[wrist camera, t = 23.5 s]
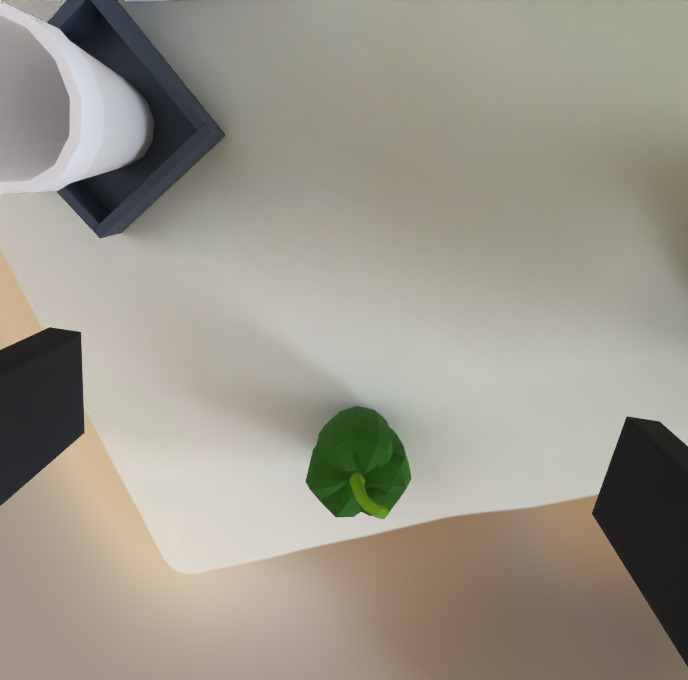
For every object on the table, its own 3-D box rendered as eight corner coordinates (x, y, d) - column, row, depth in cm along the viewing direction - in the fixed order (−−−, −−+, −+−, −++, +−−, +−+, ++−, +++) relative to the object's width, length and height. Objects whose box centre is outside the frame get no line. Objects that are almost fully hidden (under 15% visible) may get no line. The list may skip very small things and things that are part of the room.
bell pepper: (296, 423, 47) (278, 488, 37) (369, 377, 45) (369, 433, 35) (348, 486, 49) (343, 563, 39) (419, 445, 47) (432, 515, 37)
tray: (225, 135, 39) (212, 132, 35) (121, 233, 42) (99, 238, 38) (112, -6, 36) (86, -23, 33) (9, 109, 39) (-25, 104, 36)
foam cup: (199, 131, 38) (118, 114, 26) (120, 211, 40) (11, 229, 28) (106, 23, 36) (-29, -52, 24) (29, 113, 38) (-131, 87, 26)
